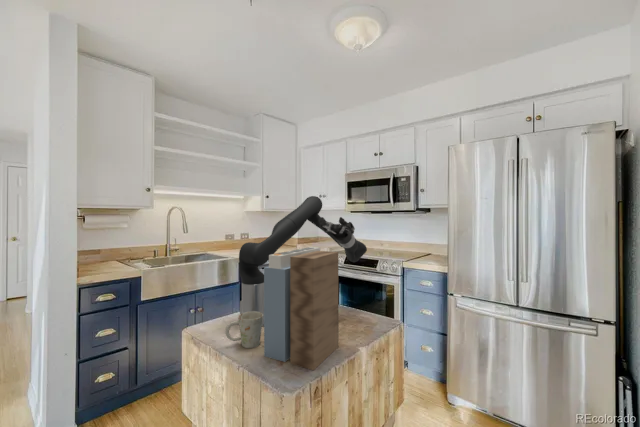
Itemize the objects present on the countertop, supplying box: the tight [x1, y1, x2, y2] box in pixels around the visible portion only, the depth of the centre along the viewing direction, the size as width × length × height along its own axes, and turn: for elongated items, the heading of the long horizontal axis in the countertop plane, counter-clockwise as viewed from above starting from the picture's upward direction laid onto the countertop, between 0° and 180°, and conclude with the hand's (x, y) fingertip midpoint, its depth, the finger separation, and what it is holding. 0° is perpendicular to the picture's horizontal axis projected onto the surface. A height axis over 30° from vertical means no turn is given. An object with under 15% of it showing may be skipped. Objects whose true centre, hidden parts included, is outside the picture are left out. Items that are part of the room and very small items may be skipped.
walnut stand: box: [289, 250, 340, 371], centre depth 93 cm, size 8×17×32 cm, turn 152°
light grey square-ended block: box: [268, 246, 321, 269], centre depth 102 cm, size 4×26×4 cm, turn 152°
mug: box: [224, 311, 263, 349], centre depth 100 cm, size 8×13×10 cm, turn 107°
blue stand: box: [263, 265, 290, 363], centre depth 98 cm, size 8×17×28 cm, turn 152°
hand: (330, 219), depth 119 cm, fingers open, 8 cm apart
